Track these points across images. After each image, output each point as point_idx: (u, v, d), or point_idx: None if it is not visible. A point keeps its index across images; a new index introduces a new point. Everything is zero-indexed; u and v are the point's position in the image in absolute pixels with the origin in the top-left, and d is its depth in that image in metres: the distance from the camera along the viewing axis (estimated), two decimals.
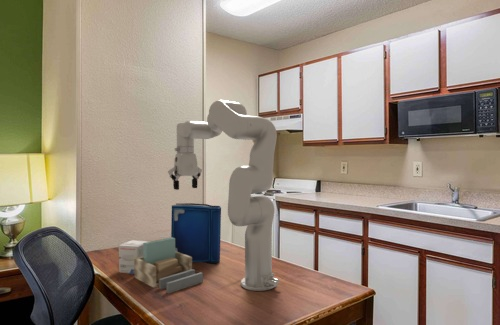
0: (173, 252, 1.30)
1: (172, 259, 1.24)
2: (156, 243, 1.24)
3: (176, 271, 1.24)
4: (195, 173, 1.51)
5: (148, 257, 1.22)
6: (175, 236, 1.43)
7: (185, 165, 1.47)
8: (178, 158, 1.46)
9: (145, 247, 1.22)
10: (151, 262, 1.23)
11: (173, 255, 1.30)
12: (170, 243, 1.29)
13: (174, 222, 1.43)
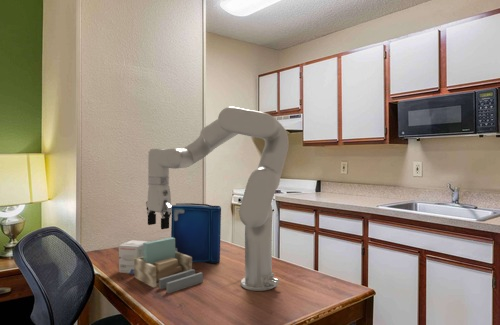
0: (173, 252, 1.30)
1: (172, 259, 1.24)
2: (156, 243, 1.24)
3: (176, 271, 1.24)
4: None
5: (148, 257, 1.22)
6: (175, 236, 1.43)
7: None
8: (168, 191, 1.24)
9: (145, 247, 1.22)
10: (151, 262, 1.23)
11: (173, 255, 1.30)
12: (170, 243, 1.29)
13: (174, 222, 1.43)
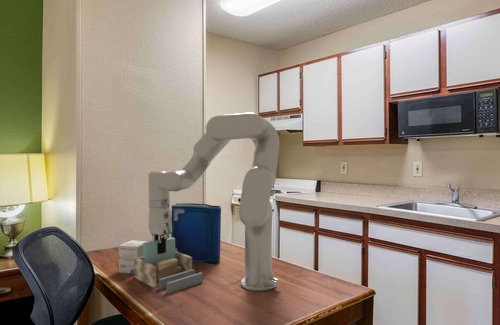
0: (173, 252, 1.30)
1: (172, 259, 1.24)
2: (156, 243, 1.24)
3: (176, 271, 1.24)
4: None
5: (147, 257, 1.22)
6: (175, 236, 1.43)
7: None
8: (169, 213, 1.24)
9: (145, 247, 1.22)
10: (151, 262, 1.23)
11: (173, 255, 1.30)
12: (170, 243, 1.29)
13: (174, 222, 1.43)
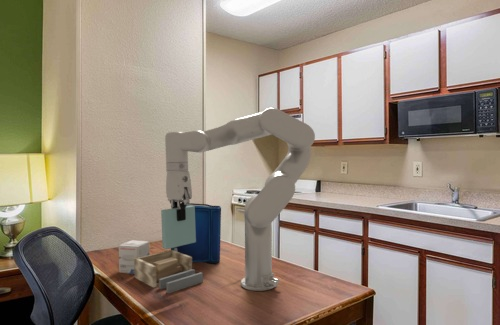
0: (193, 221, 1.20)
1: (172, 259, 1.24)
2: (175, 210, 1.15)
3: (176, 271, 1.24)
4: None
5: (166, 225, 1.13)
6: None
7: None
8: (188, 177, 1.15)
9: (163, 214, 1.13)
10: (170, 230, 1.14)
11: (193, 224, 1.20)
12: (189, 211, 1.19)
13: None
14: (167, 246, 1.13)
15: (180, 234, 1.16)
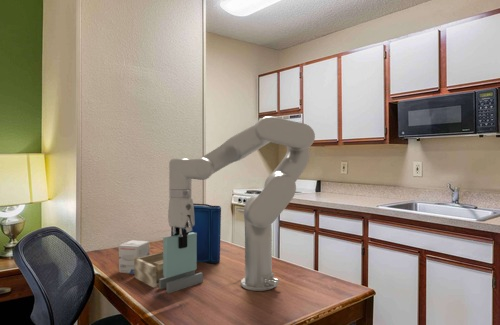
0: (194, 248, 1.19)
1: None
2: (177, 238, 1.14)
3: None
4: None
5: (168, 254, 1.12)
6: None
7: None
8: (192, 205, 1.14)
9: (165, 242, 1.12)
10: (171, 259, 1.13)
11: (194, 251, 1.19)
12: (191, 238, 1.18)
13: None
14: (168, 275, 1.12)
15: (181, 262, 1.15)
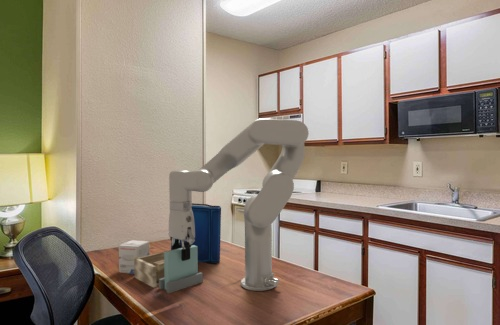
0: (195, 261, 1.19)
1: None
2: (178, 252, 1.14)
3: None
4: None
5: (169, 268, 1.12)
6: None
7: None
8: (192, 217, 1.14)
9: (166, 256, 1.12)
10: (173, 273, 1.13)
11: (195, 265, 1.19)
12: (192, 251, 1.18)
13: None
14: None
15: (182, 276, 1.15)
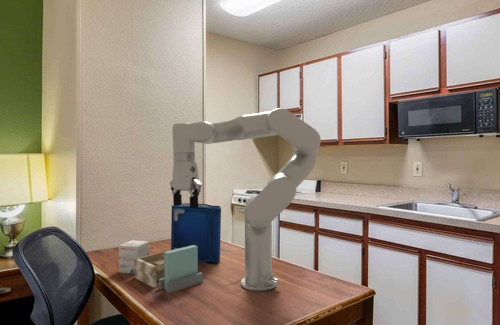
0: (195, 261, 1.19)
1: None
2: (178, 252, 1.14)
3: None
4: None
5: (169, 268, 1.12)
6: (175, 236, 1.43)
7: None
8: (196, 168, 1.16)
9: (166, 256, 1.12)
10: (173, 273, 1.13)
11: (195, 265, 1.19)
12: (192, 251, 1.18)
13: (174, 222, 1.43)
14: None
15: (182, 276, 1.15)
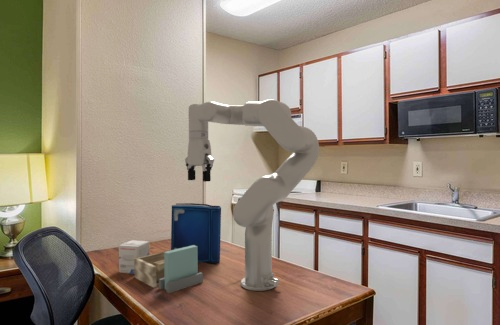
0: (195, 261, 1.19)
1: None
2: (178, 252, 1.14)
3: None
4: None
5: (169, 268, 1.12)
6: (175, 236, 1.43)
7: None
8: (209, 145, 1.28)
9: (166, 256, 1.12)
10: (173, 273, 1.13)
11: (195, 265, 1.19)
12: (192, 251, 1.18)
13: (174, 222, 1.43)
14: None
15: (182, 276, 1.15)
